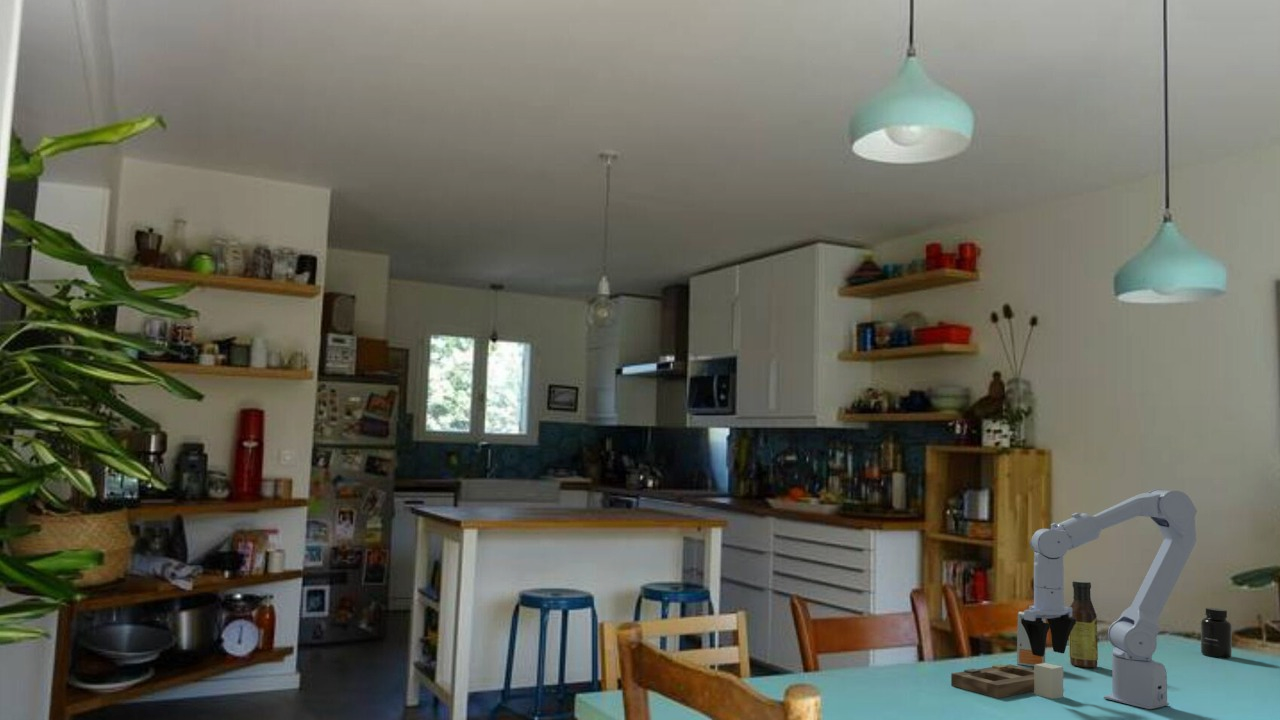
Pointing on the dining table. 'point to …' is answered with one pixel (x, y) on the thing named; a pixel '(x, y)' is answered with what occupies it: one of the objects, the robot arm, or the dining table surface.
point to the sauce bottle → (1083, 628)
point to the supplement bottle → (1216, 634)
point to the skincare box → (1026, 646)
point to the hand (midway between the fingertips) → (1048, 654)
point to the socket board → (996, 681)
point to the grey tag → (972, 671)
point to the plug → (1048, 680)
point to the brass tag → (1000, 666)
